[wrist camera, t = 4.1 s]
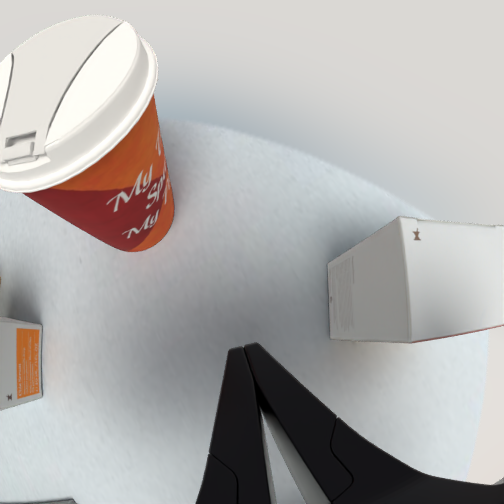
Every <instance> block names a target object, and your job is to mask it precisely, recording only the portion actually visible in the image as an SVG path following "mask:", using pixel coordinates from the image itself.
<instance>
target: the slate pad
mask: <svg viewBox="0 0 504 504" xmlns="http://www.w3.org/2000/svg"><path fill="white" fill-rule="evenodd" d="M31 504H76V503H75V501H74V500H66V501H57V502H46V503H31Z"/></svg>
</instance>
